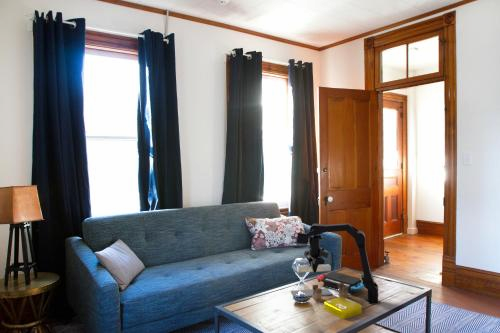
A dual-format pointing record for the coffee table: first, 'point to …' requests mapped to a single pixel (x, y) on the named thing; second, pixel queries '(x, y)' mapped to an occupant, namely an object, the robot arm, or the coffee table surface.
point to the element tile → (342, 307)
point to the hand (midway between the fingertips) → (313, 271)
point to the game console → (341, 281)
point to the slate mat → (310, 292)
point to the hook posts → (318, 292)
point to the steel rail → (309, 268)
